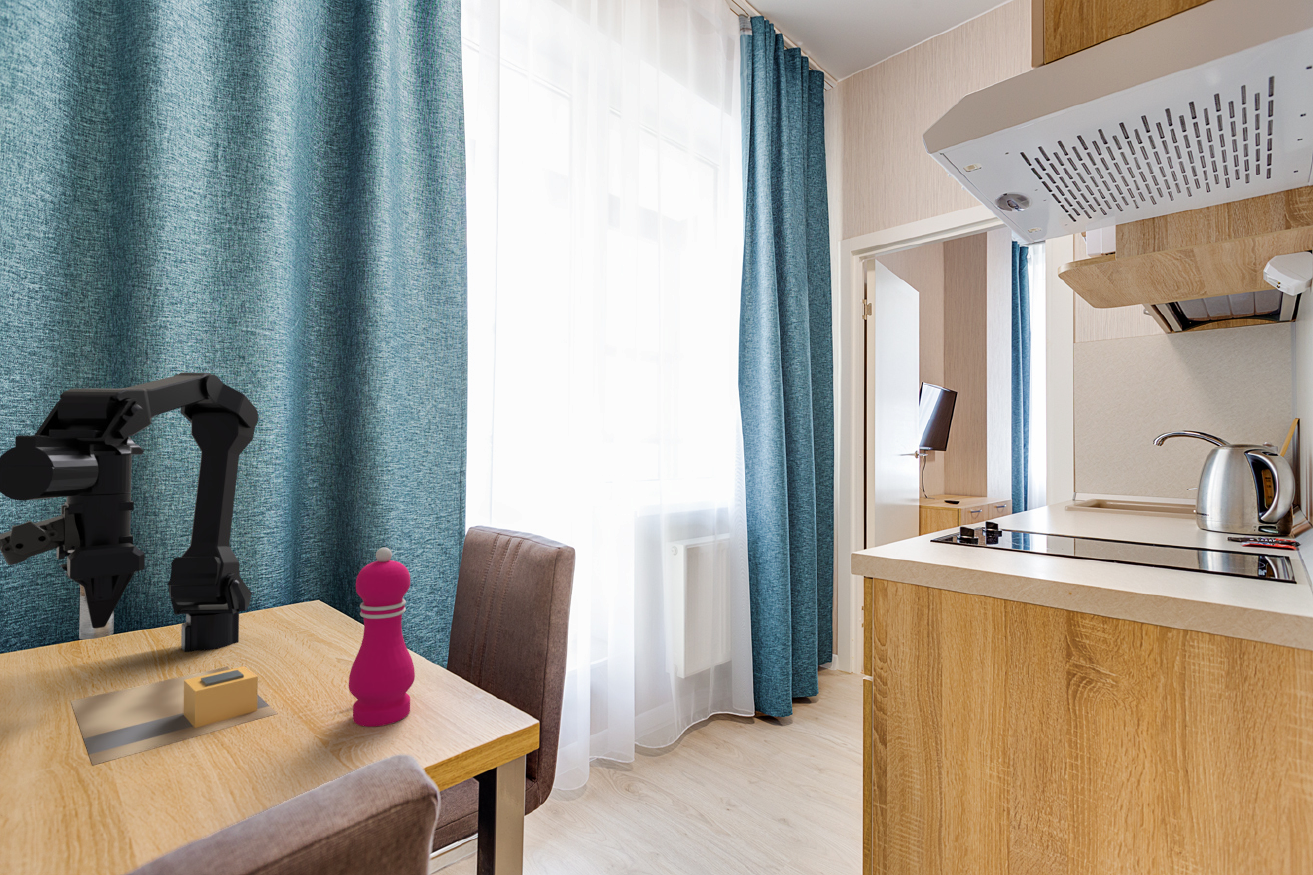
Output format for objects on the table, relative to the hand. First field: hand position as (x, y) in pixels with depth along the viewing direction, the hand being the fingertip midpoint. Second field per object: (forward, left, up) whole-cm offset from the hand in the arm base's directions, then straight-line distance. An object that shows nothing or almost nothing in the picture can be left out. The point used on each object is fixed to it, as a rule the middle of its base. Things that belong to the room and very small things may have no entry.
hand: (97, 624), depth 74 cm
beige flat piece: (-6, +7, -11) cm, 14 cm away
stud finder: (-10, +13, -10) cm, 19 cm away
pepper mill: (-23, +25, -11) cm, 36 cm away
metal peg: (0, 0, -1) cm, 1 cm away
